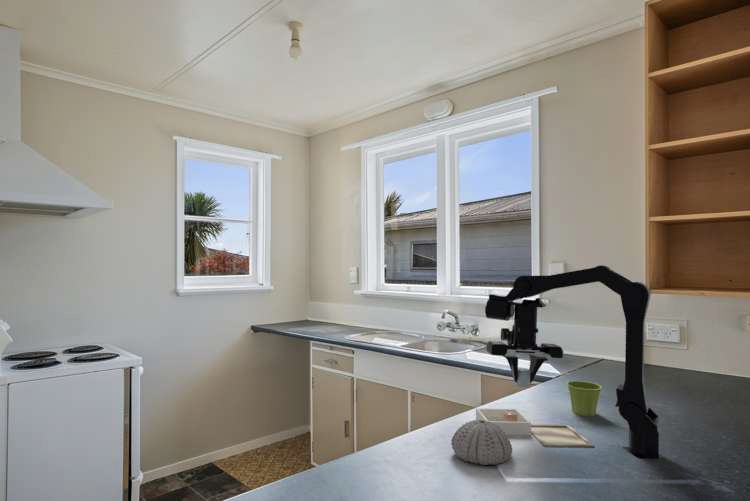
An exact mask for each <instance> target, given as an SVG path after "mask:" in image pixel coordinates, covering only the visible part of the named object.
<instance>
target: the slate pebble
mask: <svg viewBox="0 0 750 501" xmlns="http://www.w3.org/2000/svg"><path fill="white" fill-rule="evenodd" d="M530 373H531V371H530V370H529V369H526V368H518V378H517V382H515V386H517V387H520V388H530V387H531V383H530Z"/></svg>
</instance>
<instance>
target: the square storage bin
mask: <svg viewBox="0 0 750 501" xmlns="http://www.w3.org/2000/svg"><path fill="white" fill-rule="evenodd" d="M507 411H509V412H515V413H517V414H518V420H517V422H504V421H503V412H507ZM477 419H480V420H484V421H489V422H492V423H494V424H496V425H497V426H499V428H500V429H502V431H503V432H505V435H507V436H512V435H513V436H532V434H531V424H532V422H531V421H530V420H529V419H528V418H527V417H526V416H525V415H524V414H522V413H521V411H519V410H518V409H517V408H486V407H485V408H482V407H481V408H480V407H478V408H477V407H476V408H475V420H477Z"/></svg>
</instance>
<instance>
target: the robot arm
mask: <svg viewBox="0 0 750 501" xmlns="http://www.w3.org/2000/svg"><path fill="white" fill-rule="evenodd" d="M594 283H601V284H602V285H604V286H605V287H607V288H608V289H610V290H611V291H612V292H614V293H616V294H617V295H619V296H620V301H621V302H620V303H621V307H622V310H623V314H624V315H623V316H624V319H625V356H624V357H625V360H624V361H625V362H624V363H625V364H624V368H625V369H624V372H625V373H624V374H625V375H624V383H623V384H621V383H619V384H618V385H617V387H616V388H615V393H616V394H615V395H616V403H615V407H616V408H618V413H619V416H621V417H622V419H624V420H625V421H626V422H627V425H628V428H629V429H628V446H622V449H623V450H625V451H627V452H628V453H630V454H631V455H633V456H634V457H635V458H636V459H641V460H643V459H645V460H646V459H648V460H651V459H653V460H660V459H661V460H665V459H666V457H664V456H663V455H661V454H660V452H659V451H660V449H659V447H660V432H659V429H658V426H659V422H660V416H659V415H658V414H657V413H656V412H655V411H654V410H653V409H652V408H651V407H650V402H649V399H648V398H649V397H648V392H647V388H646V384H645V378H644V376H645V374H644V368H645V362H644V361H645V320H646V317H647V316H646V315H647V312H648V309H649V304H650V299H651V293H652V292H651V290H650V288H649V287H648V286H647V285H646V284H645V283H643V282H642V281H641V282H639V281H632V280H630V279H628V278H627V277H625V276H623V275H622V274H620V273H619V272H616V271H614V270H613V269H611V268H610V267H609V266H607V265H602V264H601V265H597V266H595V267H589V268H583V269H577V270H571V271H567V272H561V273H556V274H551V275H519V276H518V277H516V279H515V281H513V285H512V286H513V288H511V290H510V291H509V292H508V293H507V294H506V295H499V294H495V293H494V294H493V293H492V294H491V293H490V294H488V299H487V301H486V305H485V306H484V314H485V317H486V318H487V319H489V320H498V321H510V319H511V318H514V322H513V324H512V328H511V329H512V330H510V328H503V327H502V328H501V329H500V341H499V340H498V341H497V340H489V341H487V343H486V352H488V353H489V354H490V355H491V356H502V357H503V358H505V359H506V360H507V363H508V365H509V367H510V368H509V369H510V372H511V374H512V379H513V381H514V382H515V383H516V382H517V378H518V369H519V357H518V356H516V354H517V353H522V354H529V360H530V361H529V369H528V370H530V371H531V373H530V384H532V383H533V380H534V379H535V377H536V375H537V374H538V371H539V370H540V368H541V366H542V365H543V364H544V362H547V361H548V360H549V359H548V357H546V356H547V355H548V356H549V357H550V358H552V359H563V358H564V350H563V347H562V346H560V345H557V344H555V343H544V342H542V343H541V344H540V345H539V346H538V344H537V333H539V328H537V324H538V308H541V309H542V308H544V307H546V306H547V304H545V303H544V302H543V300H542V299H541V297H537V298H536V299H525V298H532V297H536V296H539V295H542V294H544V293H547V292H550V291H553V290H556V289H561V288H567V287H573V286H574V287H575V286H581V285H587V284H594ZM522 299H523V300H522ZM518 300H522V302H517V301H518ZM505 342H507V344H506V343H505Z"/></svg>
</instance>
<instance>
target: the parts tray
mask: <svg viewBox="0 0 750 501" xmlns="http://www.w3.org/2000/svg"><path fill="white" fill-rule="evenodd" d="M531 436H533V437H534V439H536V440H537V441H538V443H539V444H541V445H542V446H543V447H546V448H548V447H550V448H551V447H557V448H559V447H561V448H563V447H565V448H569V447H570V448H595V445H594V444H593V442H591V441H590V440H588V439H587V438H586V437H584V436H583V435H582V434H581V433H579V432H578V431H577V430H575V429H574V428H573V427H571V425H569V424H536V423H535V424H534V423H531Z"/></svg>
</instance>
